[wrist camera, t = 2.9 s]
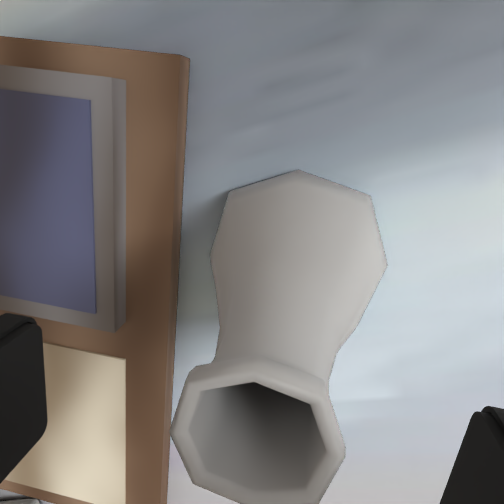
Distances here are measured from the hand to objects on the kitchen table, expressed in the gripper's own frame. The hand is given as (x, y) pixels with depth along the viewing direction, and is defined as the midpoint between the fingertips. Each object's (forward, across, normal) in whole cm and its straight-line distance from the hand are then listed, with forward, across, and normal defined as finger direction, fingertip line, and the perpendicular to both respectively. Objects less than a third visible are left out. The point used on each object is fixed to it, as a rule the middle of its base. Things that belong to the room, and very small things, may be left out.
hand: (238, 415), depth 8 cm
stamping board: (+9, +11, +4) cm, 15 cm away
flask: (+9, -1, -1) cm, 9 cm away
